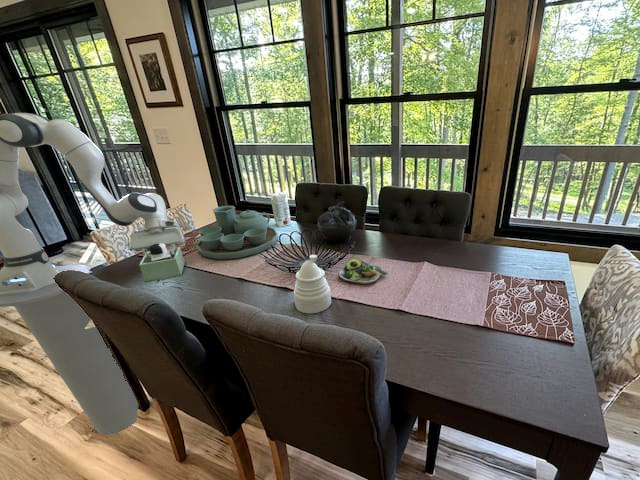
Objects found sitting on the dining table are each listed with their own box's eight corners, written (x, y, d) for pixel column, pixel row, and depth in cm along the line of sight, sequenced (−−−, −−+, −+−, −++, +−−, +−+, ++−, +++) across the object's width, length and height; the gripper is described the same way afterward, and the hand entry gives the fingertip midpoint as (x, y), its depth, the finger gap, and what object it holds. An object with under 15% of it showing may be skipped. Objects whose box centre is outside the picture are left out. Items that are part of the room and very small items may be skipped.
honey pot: (323, 290, 119) (318, 246, 111) (337, 306, 109) (333, 260, 101) (290, 299, 114) (283, 255, 106) (302, 317, 104) (295, 269, 96)
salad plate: (393, 268, 133) (393, 259, 130) (379, 289, 118) (379, 278, 116) (352, 262, 140) (351, 253, 138) (334, 281, 125) (333, 271, 123)
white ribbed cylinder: (292, 224, 189) (287, 193, 180) (278, 227, 185) (273, 195, 176) (287, 221, 195) (283, 191, 186) (274, 224, 191) (269, 193, 182)
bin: (145, 281, 131) (138, 265, 128) (152, 268, 143) (146, 252, 139) (181, 275, 135) (175, 258, 132) (184, 262, 147) (179, 247, 143)
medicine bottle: (157, 275, 134) (147, 249, 129) (156, 269, 139) (146, 244, 134) (175, 270, 138) (166, 245, 132) (173, 264, 143) (165, 240, 137)
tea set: (180, 256, 153) (170, 224, 146) (233, 228, 187) (227, 201, 179) (248, 264, 142) (240, 230, 134) (292, 233, 175) (287, 204, 168)
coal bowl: (333, 250, 152) (330, 213, 143) (312, 239, 166) (308, 205, 157) (364, 239, 163) (363, 204, 154) (342, 230, 177) (340, 197, 168)
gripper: (126, 228, 133) (129, 258, 129) (179, 221, 139) (183, 249, 135) (133, 234, 138) (136, 263, 135) (184, 227, 144) (188, 254, 141)
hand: (160, 256), depth 135 cm, fingers closed on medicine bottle, 8 cm apart
